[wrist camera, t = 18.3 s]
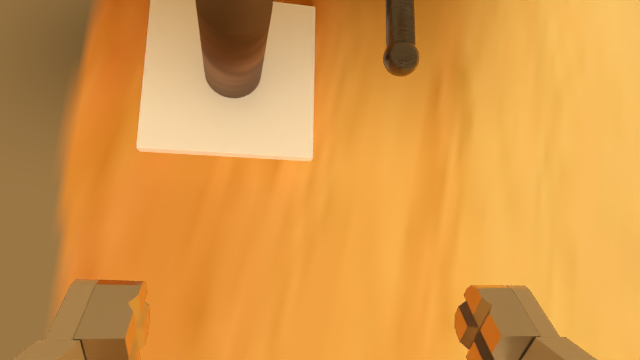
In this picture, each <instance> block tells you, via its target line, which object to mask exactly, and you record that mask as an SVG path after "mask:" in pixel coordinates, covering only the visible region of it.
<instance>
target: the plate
mask: <svg viewBox="0 0 640 360" xmlns="http://www.w3.org/2000/svg"><path fill="white" fill-rule="evenodd" d="M315 8H316V7H314V6H306V5H298V4H290V3H282V2H273V8H272V14H271V20H270V26H269V32H268V38H267V44H266V50H265V55H264V61H263V67H262V73H261V79H260V82H259V84H258V86H257V88H256V89H255V90H254V91H253V92H252V93H250V94H249V95H247V96H245V97H241V98H227V97H224V96H221V95H219V94H218V93H216V92H215V91H214V90H213V89H212V88H211V87H210V86H209V84H208V83H207V81H206V78H205V72H204V65H203V57H202V49H201V41H200V33H199V25H198V17H197V9H196V2H195V0H150V10H149V21H148V31H147V42H146V52H145V63H144V73H143V83H142V94H141V104H140V115H139V125H138V136H137V146H136V148H137V149H138V150H139V151H141V152H159V153H176V154H194V155H211V156H228V157H246V158H263V159H280V160H298V161H311V160H312V159H313V120H314V64H315Z"/></svg>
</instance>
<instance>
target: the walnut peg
mask: <svg viewBox="0 0 640 360" xmlns="http://www.w3.org/2000/svg"><path fill="white" fill-rule="evenodd" d="M195 2H196V9H197V17H198V25H199V33H200V41H201V49H202V57H203V65H204V72H205V78H206V81H207V83H208V84H209V86H210V87H211V88H212V89H213V90H214V91H215V92H216V93H218V94H219V95H221V96H224V97H227V98H241V97H245V96H247V95H249V94H250V93H252V92H253V91H254V90H255V89H256V88H257V86H258V84H259V82H260V79H261V73H262V67H263V61H264V55H265V50H266V44H267V38H268V32H269V26H270V20H271V14H272V8H273V0H195Z"/></svg>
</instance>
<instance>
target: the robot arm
mask: <svg viewBox="0 0 640 360" xmlns="http://www.w3.org/2000/svg"><path fill="white" fill-rule="evenodd" d="M146 295H147V286H146V282H144V281H122V280H86V279H76V280H75V281H74V282H73V283H72V284H71V285H70V287H69V289H68V292H67V294H66V296H65V298H64V300H63V302H62V304H61V306H60V308H59V311H58V313H57V315H56V317H55V319H54V321H53V323H52V325H51V327H50V329H49V332H48V334H47V336H46V338H45V340H40V341H36V342H35V343H33V344H32V345H31V346H29V347H28V348H27V349H25V350H24V351H23V352H21V353H20V354H19V355H17V356H16V357H15V358H14V359H12V360H141V358H140V351H139V350H140V349H141V348H142V347H143V346H144V345H145V344H146V340H147V336H148V330H149V322H150V309H149V304H148V303H147V302H145V299H146ZM464 297H465V299H466V301H465V302H464V303H462V304H461V305H460V306H458V309H457V311H456V314H455V329H456V334H457V336H458V339H459V341H460V343H462V344H463V345H464V346H465V347H466V348H467V349H468V352H467V356H466V358H467V360H597V359H595V358H594V357H592V356H591V355H590V354H588V353H587V352H585V351H584V350H583V349H581V348H580V347H579V346H577V345H576V344H574V343H573V342H572V341H570V340H569V339H567V338H566V337H560V336H559V335H558V333H557V331H556V330H555V328H554V327H553V325H552V324H551V322H550V321H549V319H548V317H547V316H546V314H545V313H544V311H543V310H542V308H541V307H540V305H539V304H538V302H537V300H536V299H535V297H534V296H533V294H532V293H531V291H530V290H529V289H528V288H527V287H526V286H504V285H471V286H469V287H468V288H467V289H466V291H465V293H464Z"/></svg>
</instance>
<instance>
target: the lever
mask: <svg viewBox="0 0 640 360" xmlns="http://www.w3.org/2000/svg"><path fill="white" fill-rule="evenodd" d="M386 43H387V48H386V50H385V52H384V56H383V62H384V66H385V68H386V69H387V71H388V72H389V73H391V74H392V75H395V76H406V75H408V74H410V73H412V72H413V71H414V70H415V68H416V67H417V65H418V62H419V52H418V50H417V48H416V46H415V20H414V0H386Z"/></svg>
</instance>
